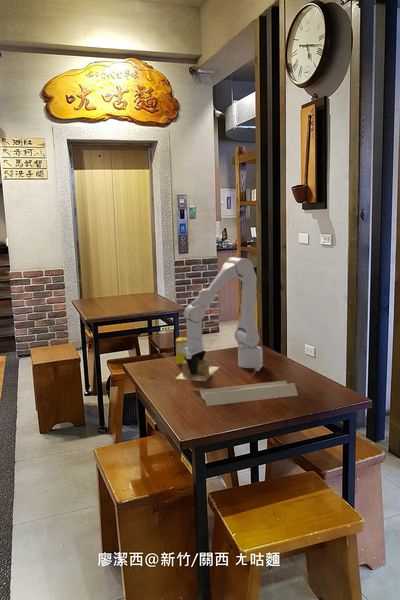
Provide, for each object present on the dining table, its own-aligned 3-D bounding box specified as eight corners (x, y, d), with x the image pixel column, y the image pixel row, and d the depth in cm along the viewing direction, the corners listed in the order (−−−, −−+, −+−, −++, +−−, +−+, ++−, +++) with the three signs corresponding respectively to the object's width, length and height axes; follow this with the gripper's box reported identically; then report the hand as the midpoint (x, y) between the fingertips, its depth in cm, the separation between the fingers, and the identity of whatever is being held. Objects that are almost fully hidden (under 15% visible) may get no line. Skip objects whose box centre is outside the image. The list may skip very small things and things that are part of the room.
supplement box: (192, 362, 205) (191, 336, 203) (191, 366, 199) (190, 340, 198) (178, 362, 206) (177, 336, 204) (176, 366, 200) (175, 340, 198)
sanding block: (209, 373, 187) (208, 360, 186) (205, 377, 183) (204, 364, 182) (187, 371, 190) (186, 359, 189) (182, 375, 186) (182, 362, 185)
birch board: (219, 369, 194) (219, 367, 194) (205, 383, 179) (205, 381, 179) (191, 367, 199) (191, 364, 198) (174, 381, 183) (174, 378, 183)
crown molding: (285, 385, 176) (285, 376, 175) (298, 397, 164) (298, 387, 164) (199, 395, 170) (199, 385, 169) (207, 408, 158) (207, 397, 158)
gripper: (191, 331, 192) (192, 365, 194) (177, 341, 179) (178, 377, 181) (208, 332, 190) (209, 366, 192) (195, 342, 176) (196, 378, 179)
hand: (195, 371), depth 186 cm, fingers closed on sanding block, 4 cm apart
